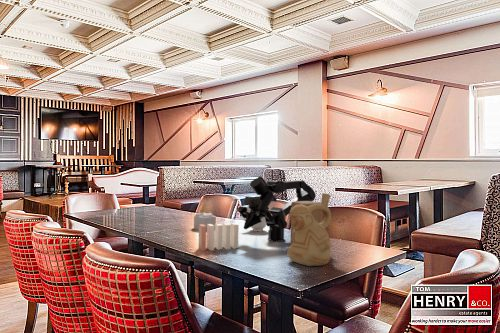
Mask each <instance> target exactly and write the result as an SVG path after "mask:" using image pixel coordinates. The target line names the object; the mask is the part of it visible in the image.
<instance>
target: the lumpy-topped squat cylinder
mask: <svg viewBox="0 0 500 333" xmlns="http://www.w3.org/2000/svg"><path fill="white" fill-rule="evenodd" d="M216 217H217V216H216V215H213V213H212V212H207V213H206V212H205V211H204V212H197V213H196V214H194V216H193V229H194V230H196V231H199V224H203V225H205V226H206V232H207V224H212V225H214V231H215V224H217V222H216V220H217V218H216Z"/></svg>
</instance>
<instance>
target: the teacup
mask: <svg viewBox="0 0 500 333" xmlns="http://www.w3.org/2000/svg"><path fill="white" fill-rule="evenodd" d="M242 220H243V221H244V222H245V221H246V218H243V217H242ZM261 221H262V222H260V223H258V224H255V225H253V226H251V227H250V228H252V231H253V232H257V231H259V232H263V231H264V229H265V228H266V227H267V224H266V220H265V217H263V218H262V220H261Z"/></svg>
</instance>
